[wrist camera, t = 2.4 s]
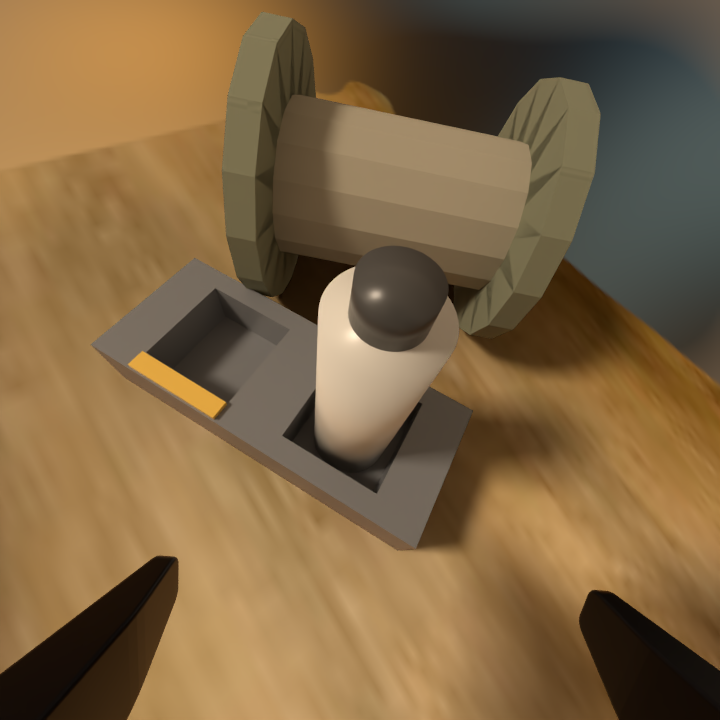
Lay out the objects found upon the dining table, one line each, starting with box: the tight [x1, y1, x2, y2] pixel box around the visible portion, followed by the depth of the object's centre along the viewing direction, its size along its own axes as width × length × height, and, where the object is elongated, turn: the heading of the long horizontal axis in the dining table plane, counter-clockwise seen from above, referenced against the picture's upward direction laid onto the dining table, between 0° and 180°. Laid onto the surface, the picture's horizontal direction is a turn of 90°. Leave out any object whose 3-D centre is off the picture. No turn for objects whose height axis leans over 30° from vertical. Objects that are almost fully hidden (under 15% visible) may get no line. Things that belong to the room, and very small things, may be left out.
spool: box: [222, 12, 600, 339], centre depth 23 cm, size 16×15×15 cm
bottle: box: [314, 246, 459, 472], centre depth 16 cm, size 4×4×14 cm
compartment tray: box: [91, 258, 473, 550], centre depth 21 cm, size 20×8×4 cm, turn 60°
